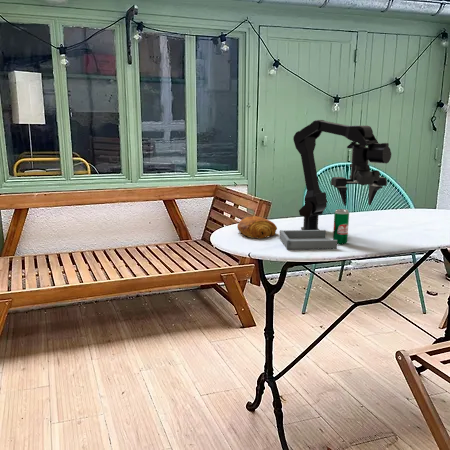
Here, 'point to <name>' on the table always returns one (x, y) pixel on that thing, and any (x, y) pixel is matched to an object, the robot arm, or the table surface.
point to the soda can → (341, 226)
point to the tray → (306, 240)
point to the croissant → (256, 227)
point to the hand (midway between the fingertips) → (357, 205)
